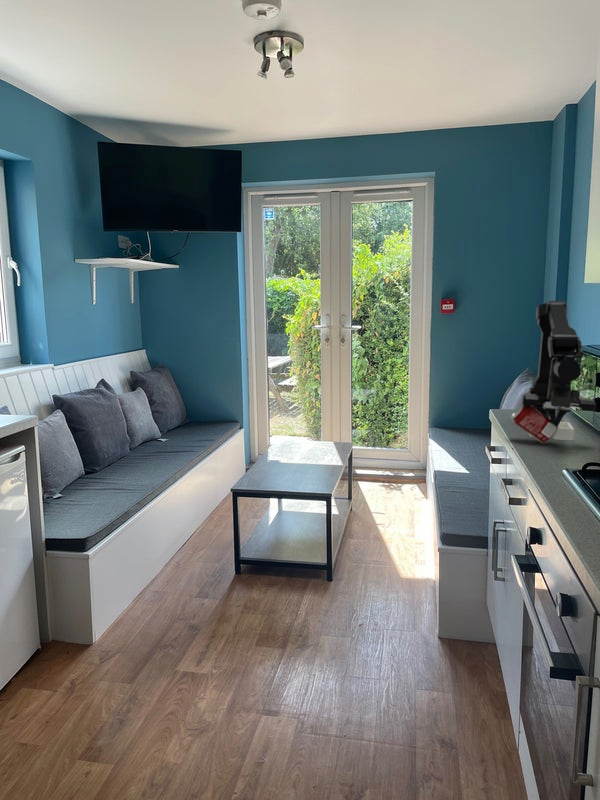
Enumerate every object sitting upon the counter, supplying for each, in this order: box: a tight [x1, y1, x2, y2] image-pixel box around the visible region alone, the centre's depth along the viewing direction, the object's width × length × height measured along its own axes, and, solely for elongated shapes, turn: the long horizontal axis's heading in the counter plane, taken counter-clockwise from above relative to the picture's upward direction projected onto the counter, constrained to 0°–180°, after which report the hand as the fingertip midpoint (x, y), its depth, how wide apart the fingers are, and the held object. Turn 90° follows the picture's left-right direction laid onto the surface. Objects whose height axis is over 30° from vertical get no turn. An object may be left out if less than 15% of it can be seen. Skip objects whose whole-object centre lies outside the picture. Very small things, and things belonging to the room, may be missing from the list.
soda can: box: [510, 403, 558, 445], centre depth 166 cm, size 7×7×12 cm
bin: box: [527, 421, 575, 442], centre depth 176 cm, size 9×12×4 cm
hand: (554, 431), depth 164 cm, fingers closed, pressing on soda can
